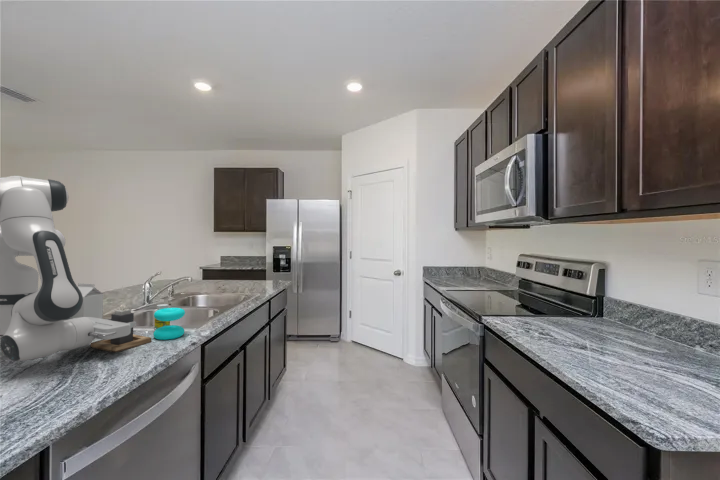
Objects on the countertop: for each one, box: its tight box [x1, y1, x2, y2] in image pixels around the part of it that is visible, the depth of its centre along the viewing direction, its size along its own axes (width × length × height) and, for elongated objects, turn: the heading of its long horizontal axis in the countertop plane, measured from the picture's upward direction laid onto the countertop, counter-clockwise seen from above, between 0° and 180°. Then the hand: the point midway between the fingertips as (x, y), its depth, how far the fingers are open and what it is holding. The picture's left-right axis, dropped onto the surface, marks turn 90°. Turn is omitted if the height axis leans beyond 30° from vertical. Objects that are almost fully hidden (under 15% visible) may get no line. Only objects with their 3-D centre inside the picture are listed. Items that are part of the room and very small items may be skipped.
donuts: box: [152, 307, 186, 341], centre depth 121 cm, size 10×10×10 cm
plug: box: [110, 304, 135, 345], centre depth 110 cm, size 4×4×13 cm
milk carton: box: [70, 282, 104, 319], centre depth 118 cm, size 7×7×19 cm
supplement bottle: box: [153, 303, 171, 331], centre depth 130 cm, size 5×5×10 cm
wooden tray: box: [90, 333, 152, 354], centre depth 110 cm, size 12×12×2 cm
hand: (125, 322), depth 111 cm, fingers open, 8 cm apart
